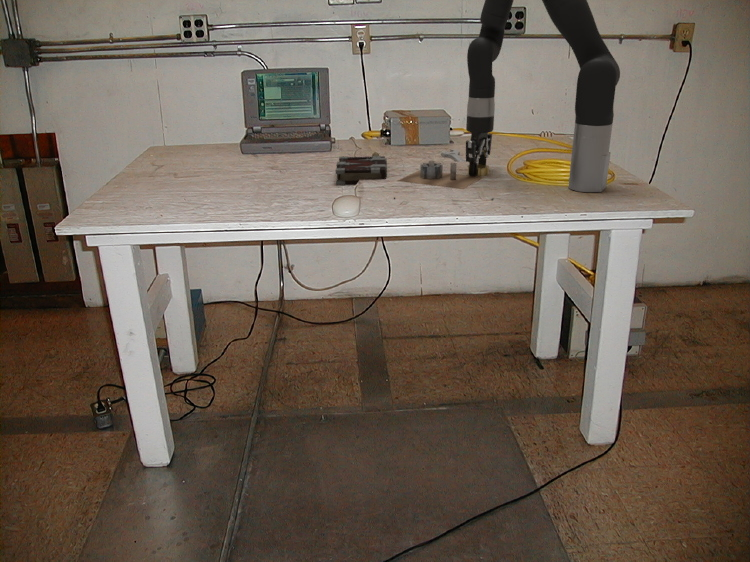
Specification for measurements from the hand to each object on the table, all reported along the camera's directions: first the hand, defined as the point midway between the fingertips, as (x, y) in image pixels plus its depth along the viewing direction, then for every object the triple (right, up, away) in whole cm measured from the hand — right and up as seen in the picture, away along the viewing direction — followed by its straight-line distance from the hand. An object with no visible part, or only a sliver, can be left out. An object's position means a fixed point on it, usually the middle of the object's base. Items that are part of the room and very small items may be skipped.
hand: (477, 173), depth 178 cm
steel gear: (-14, -2, -3) cm, 14 cm away
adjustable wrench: (-3, +7, +22) cm, 24 cm away
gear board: (-11, -4, -4) cm, 13 cm away
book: (-33, +1, +9) cm, 34 cm away
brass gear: (0, -1, 0) cm, 1 cm away
